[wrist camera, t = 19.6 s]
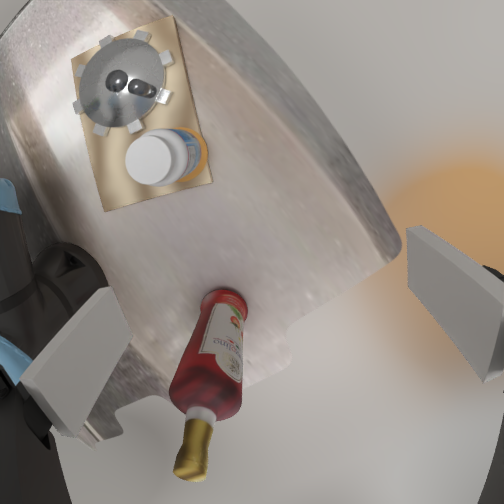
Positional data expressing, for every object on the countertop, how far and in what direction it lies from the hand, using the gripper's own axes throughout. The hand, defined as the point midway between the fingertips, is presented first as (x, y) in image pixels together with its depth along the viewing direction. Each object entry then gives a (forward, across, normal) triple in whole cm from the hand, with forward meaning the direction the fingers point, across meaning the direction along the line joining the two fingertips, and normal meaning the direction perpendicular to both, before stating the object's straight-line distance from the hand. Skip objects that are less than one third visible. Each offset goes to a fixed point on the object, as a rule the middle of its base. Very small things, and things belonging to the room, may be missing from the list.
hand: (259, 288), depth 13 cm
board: (+29, -14, +14) cm, 35 cm away
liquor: (+29, -9, -16) cm, 34 cm away
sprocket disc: (+27, -14, +18) cm, 36 cm away
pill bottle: (+27, -9, +7) cm, 30 cm away
